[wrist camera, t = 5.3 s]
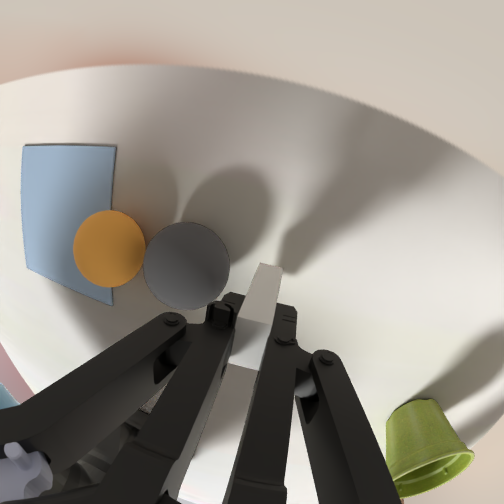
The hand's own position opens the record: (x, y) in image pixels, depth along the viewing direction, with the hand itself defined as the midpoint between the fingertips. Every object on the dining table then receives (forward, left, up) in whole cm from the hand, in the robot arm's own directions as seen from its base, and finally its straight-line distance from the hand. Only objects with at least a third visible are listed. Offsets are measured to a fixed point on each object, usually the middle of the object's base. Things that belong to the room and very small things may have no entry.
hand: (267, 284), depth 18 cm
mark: (+11, +17, -2) cm, 20 cm away
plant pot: (-20, -9, -2) cm, 22 cm away
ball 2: (+3, +4, +1) cm, 5 cm away
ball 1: (+6, +10, +1) cm, 11 cm away
